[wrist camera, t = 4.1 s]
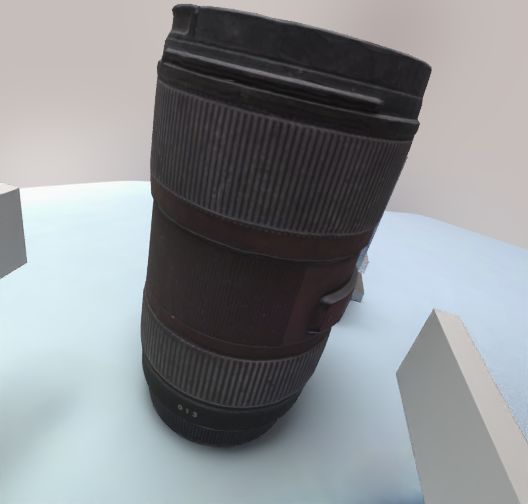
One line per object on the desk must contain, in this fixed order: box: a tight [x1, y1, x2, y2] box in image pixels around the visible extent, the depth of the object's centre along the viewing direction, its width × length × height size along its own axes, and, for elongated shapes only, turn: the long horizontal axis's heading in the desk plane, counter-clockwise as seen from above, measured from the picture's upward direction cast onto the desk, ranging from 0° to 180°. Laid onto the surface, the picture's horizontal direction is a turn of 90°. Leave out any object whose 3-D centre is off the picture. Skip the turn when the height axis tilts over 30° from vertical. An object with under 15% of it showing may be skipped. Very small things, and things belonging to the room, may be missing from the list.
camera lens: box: [141, 4, 432, 447], centre depth 14 cm, size 8×8×15 cm
